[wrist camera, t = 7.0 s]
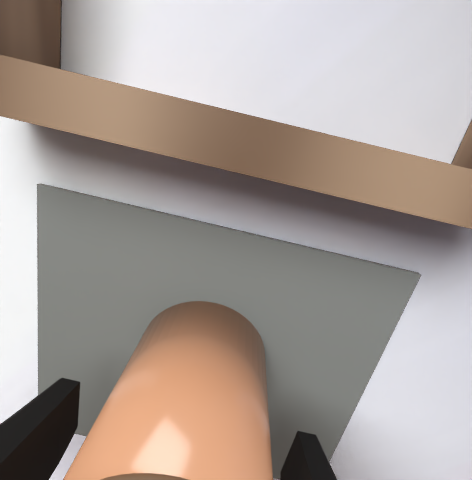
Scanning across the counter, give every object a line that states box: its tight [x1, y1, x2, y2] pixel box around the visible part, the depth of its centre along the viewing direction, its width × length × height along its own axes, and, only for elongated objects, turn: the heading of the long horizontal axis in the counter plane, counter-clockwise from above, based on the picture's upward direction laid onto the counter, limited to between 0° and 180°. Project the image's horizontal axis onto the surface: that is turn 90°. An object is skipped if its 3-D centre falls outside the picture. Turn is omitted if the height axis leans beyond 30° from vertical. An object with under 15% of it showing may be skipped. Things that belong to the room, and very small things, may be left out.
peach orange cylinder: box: [63, 301, 273, 480], centre depth 9 cm, size 5×5×6 cm
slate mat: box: [37, 184, 421, 479], centre depth 13 cm, size 14×12×1 cm
